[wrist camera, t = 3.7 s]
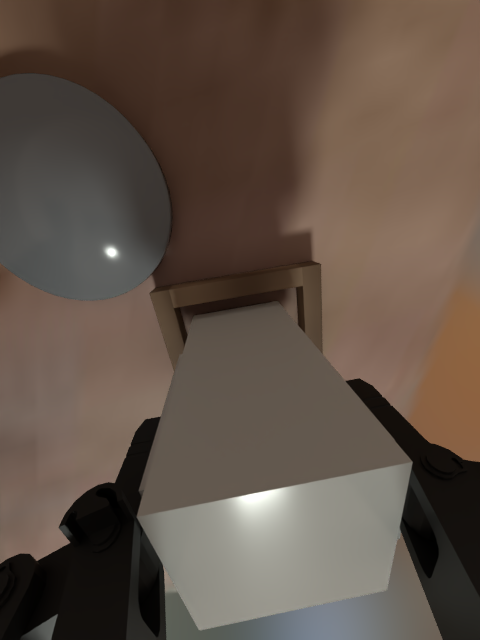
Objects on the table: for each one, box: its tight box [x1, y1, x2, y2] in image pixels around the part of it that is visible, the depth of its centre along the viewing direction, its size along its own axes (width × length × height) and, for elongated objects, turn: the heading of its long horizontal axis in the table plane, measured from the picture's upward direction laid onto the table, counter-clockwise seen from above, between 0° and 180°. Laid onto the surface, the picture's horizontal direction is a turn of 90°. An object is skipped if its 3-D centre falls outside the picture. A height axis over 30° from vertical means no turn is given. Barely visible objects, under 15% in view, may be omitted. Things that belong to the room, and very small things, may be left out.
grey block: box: [137, 301, 413, 630], centre depth 10 cm, size 5×5×10 cm
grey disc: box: [0, 73, 173, 301], centre depth 11 cm, size 9×9×1 cm
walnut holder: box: [150, 261, 323, 372], centre depth 14 cm, size 9×9×1 cm
